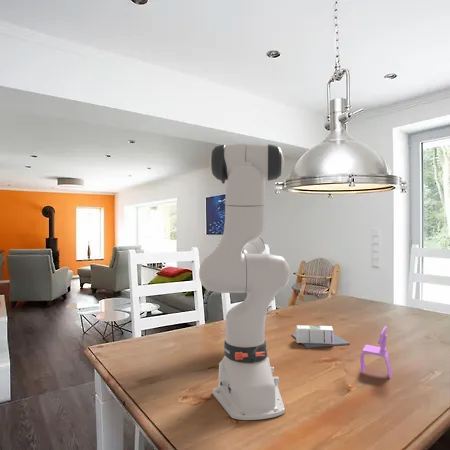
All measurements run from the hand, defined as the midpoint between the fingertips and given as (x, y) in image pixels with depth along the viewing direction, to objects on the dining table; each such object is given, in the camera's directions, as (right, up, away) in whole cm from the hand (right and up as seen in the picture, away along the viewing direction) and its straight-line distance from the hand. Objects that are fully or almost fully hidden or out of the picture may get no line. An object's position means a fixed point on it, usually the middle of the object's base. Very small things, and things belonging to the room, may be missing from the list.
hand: (273, 299), depth 141 cm
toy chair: (+29, -18, -27) cm, 44 cm away
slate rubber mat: (+20, -18, +5) cm, 27 cm away
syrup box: (+9, -14, +2) cm, 17 cm away
